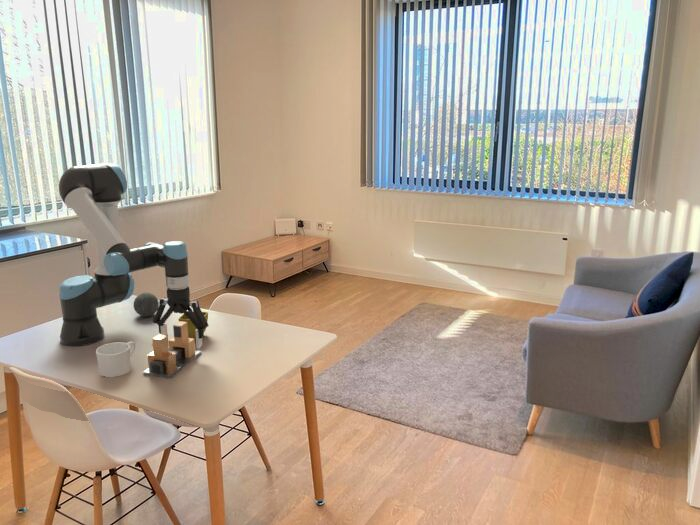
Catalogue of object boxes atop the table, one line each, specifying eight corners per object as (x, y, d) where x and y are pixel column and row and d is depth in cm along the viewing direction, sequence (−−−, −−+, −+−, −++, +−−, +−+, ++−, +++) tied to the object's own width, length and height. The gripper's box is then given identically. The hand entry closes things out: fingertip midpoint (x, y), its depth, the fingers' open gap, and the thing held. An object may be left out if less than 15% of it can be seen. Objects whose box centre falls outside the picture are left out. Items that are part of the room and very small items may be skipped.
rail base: (143, 374, 186) (140, 339, 183) (176, 350, 205) (174, 318, 202) (170, 378, 184) (167, 342, 181) (201, 353, 203) (199, 321, 199)
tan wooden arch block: (195, 353, 201) (193, 322, 198) (188, 358, 196) (186, 327, 193) (175, 350, 203) (173, 320, 200) (168, 355, 198) (166, 325, 195)
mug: (111, 380, 182) (109, 357, 180) (91, 372, 187) (88, 350, 185) (146, 365, 193) (144, 343, 191) (126, 358, 198) (123, 336, 196)
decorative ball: (164, 315, 239) (162, 293, 236) (141, 321, 232) (139, 298, 229) (152, 310, 246) (150, 288, 243) (130, 315, 239) (128, 293, 236)
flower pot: (209, 333, 221) (208, 311, 219) (202, 342, 213) (200, 319, 210) (188, 332, 222) (186, 310, 219) (179, 341, 213) (177, 318, 211)
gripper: (139, 286, 193) (144, 344, 198) (205, 293, 187) (208, 352, 192) (152, 280, 200) (156, 336, 205) (216, 286, 194) (219, 344, 199)
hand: (182, 344), depth 199 cm, fingers open, 13 cm apart
